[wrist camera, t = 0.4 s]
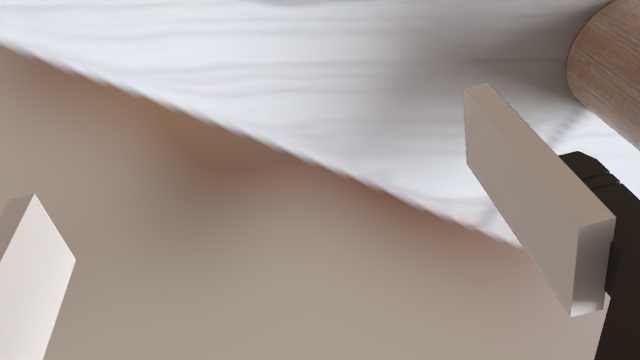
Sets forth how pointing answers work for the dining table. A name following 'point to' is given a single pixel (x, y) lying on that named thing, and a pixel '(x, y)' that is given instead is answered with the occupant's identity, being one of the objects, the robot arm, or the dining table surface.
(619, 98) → the planter
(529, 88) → the dining table surface
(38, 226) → the robot arm
